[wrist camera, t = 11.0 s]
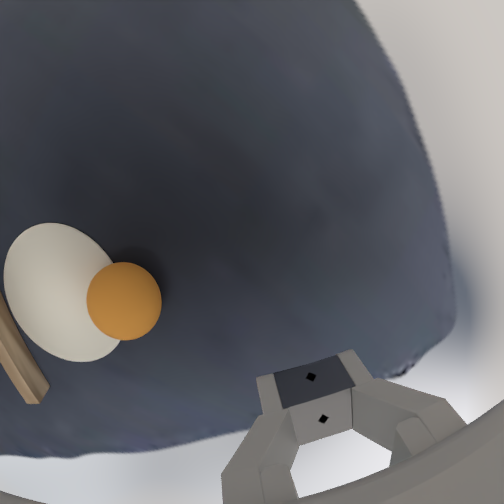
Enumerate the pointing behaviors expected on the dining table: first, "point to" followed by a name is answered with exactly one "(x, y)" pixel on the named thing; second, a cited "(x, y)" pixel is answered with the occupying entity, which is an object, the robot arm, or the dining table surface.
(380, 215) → the dining table surface
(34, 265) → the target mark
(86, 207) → the dining table surface
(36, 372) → the bar
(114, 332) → the ball
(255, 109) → the dining table surface
